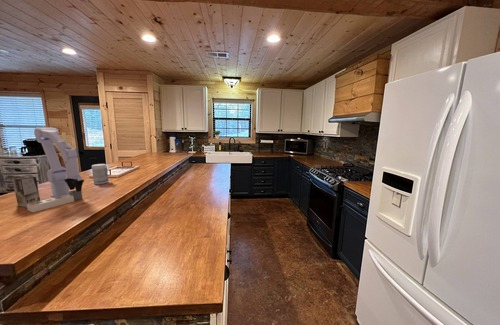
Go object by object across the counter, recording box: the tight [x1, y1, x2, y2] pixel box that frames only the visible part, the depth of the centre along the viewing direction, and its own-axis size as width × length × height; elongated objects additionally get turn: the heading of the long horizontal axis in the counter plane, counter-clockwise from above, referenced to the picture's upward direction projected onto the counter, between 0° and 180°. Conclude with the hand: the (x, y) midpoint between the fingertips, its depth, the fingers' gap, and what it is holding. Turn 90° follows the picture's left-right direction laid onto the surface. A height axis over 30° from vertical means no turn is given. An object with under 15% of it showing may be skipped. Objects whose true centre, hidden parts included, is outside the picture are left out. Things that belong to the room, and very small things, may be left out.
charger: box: [69, 189, 83, 201], centre depth 124 cm, size 6×4×5 cm
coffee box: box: [11, 175, 41, 208], centre depth 115 cm, size 9×6×16 cm
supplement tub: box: [91, 163, 110, 185], centre depth 160 cm, size 10×10×15 cm
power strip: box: [26, 194, 75, 213], centre depth 115 cm, size 18×6×4 cm, turn 154°
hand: (75, 190), depth 125 cm, fingers open, 7 cm apart
